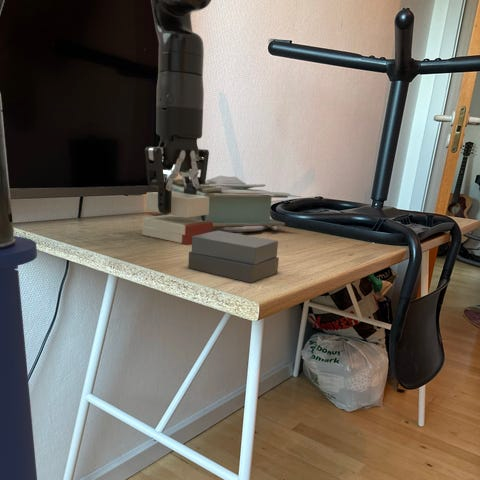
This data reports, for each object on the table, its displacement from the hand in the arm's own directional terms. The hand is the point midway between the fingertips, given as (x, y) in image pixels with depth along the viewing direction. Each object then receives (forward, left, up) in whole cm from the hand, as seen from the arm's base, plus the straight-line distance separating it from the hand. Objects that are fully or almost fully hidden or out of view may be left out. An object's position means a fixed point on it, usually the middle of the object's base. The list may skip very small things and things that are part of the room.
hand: (177, 211), depth 84 cm
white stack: (0, 0, -4) cm, 4 cm away
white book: (0, 0, 0) cm, 0 cm away
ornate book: (+20, +5, -5) cm, 21 cm away
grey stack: (-12, -20, -4) cm, 24 cm away
